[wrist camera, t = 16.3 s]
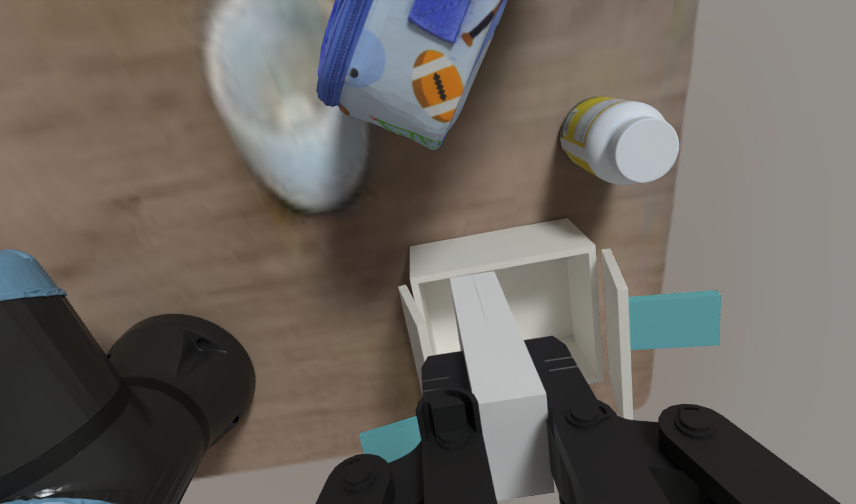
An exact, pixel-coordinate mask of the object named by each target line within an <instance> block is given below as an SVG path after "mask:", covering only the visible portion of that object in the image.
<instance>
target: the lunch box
mask: <svg viewBox="0 0 856 504" xmlns="http://www.w3.org/2000/svg"><path fill="white" fill-rule="evenodd" d="M506 3H507V0H335V3H334V6H333V10H332V13H331V16H330V18H329V21H328V25H327V28H326V32H325V35H324V39H323V43H322V47H321V54H320V62H319V69H318V78H319V79H318V83H317V93H318V98H319V99H320V100H321V101H323V102H324V104H325V105H327V106H331V107H334V106H336V105H338V106H339V107H340V110H341V111H342V112H343V113H344V114H346V115H348V116H350V117H353V118H356V119H360V120H363V121H366V122H370V123H372V124H375V125H378V126H380V127H383V128H385V129H387V130H389V131H391V132H393V133H395V134H398V135H401V136H404V137H408V138H410V139H412V140H414V141H416V142H417V143H419V144H421V145H423V146H425V147H427V148H429V149H432V150H436V149H437V148H439V147H441V145H442V143H443V141H444V138H445V136H446V134H447V132H448V130H449V129H450V128H451V127H452V126H453V124H454V123H455V121H456V120H457V118H458V116H459V114H460V113H461V111H462V108H463V106H464V103H465V101H466V98H467V96H468V94H469V91H470V89H471V86H472V84H473V82H474V79H475V77H476V75H477V73H478V70H479V68H480V66H481V63H482V61H483V59H484V56H485V54H486V52H487V50H488V47H489V45H490V43H491V40H492V38H493V36H494V33H495V31H496V28H497V26H498V24H499V21H500V19H501V16H502V14H503V11H504V8H505V6H506Z"/></svg>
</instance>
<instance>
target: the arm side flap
mask: <svg viewBox="0 0 856 504" xmlns="http://www.w3.org/2000/svg"><path fill="white" fill-rule="evenodd" d="M398 289H399V294H400V298H401V303H402V307H403V312H404V316H405V321H406V325H407V329H408V334H409V338H410V343H411V347H412V352H413V356H414V361H415V365H416V370H417V374H418V379H419V383H420V388H421V392H422V375H421V367H422V366H423V364H424V362H425V360H426V359H427V357H428V356H432V355H433V353H432V348H431V343H430V339H429V334H428V329H427V324H426V322H425V320H424V318H423V316H422V314H421V313H420V311H419V309H418V307H417V305H416V303H415V301H414V299H413V297H412V295H411V294H410V292H409V290H408V288H407V286H406V285H402V286H399V287H398ZM359 435H360V441H361V444H362V448H363V451H364V454H373V455H378V456H380V457H382V458H383V459H385V460H386V461H387V463H389V462H392V461H394V460H396V459H399V458H401V457H403V456H405V455H407V454H408V453H410V452H411V451H412V450H413V449H415V448H416V446H417V445H418V444H419V443H420V441H421V437H420V432H419V426H418V421H417V416H414V417H411V418H408V419H405V420H401V421H398V422H395V423H392V424H389V425H385V426H382V427H379V428H376V429H373V430H369V431H366V432H363V433H360V434H359Z"/></svg>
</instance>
